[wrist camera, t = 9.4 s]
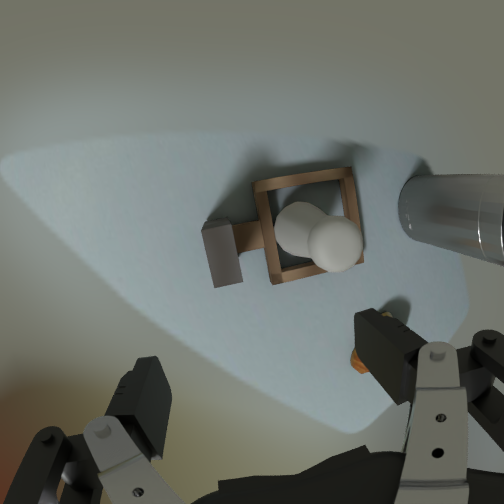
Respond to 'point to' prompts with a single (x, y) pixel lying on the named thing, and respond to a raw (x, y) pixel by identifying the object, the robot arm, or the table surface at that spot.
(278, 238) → the salt shaker
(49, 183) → the table surface
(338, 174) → the frame
